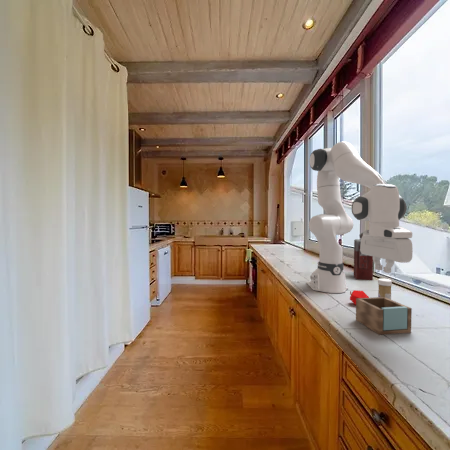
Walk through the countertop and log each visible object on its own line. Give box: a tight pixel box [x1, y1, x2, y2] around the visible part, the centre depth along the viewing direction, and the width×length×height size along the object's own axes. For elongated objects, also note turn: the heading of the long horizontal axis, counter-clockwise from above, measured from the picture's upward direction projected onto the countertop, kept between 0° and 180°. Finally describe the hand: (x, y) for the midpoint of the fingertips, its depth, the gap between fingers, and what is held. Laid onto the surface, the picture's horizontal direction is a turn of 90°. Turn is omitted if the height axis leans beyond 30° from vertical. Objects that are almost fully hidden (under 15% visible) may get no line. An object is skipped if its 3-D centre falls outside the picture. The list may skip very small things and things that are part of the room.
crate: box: [355, 296, 413, 335], centre depth 90 cm, size 12×11×8 cm
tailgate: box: [381, 305, 408, 330], centre depth 85 cm, size 1×8×7 cm, turn 98°
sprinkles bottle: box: [377, 278, 393, 300], centre depth 101 cm, size 5×5×13 cm
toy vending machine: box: [353, 231, 374, 281], centre depth 158 cm, size 9×11×28 cm
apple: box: [349, 289, 370, 306], centre depth 112 cm, size 7×7×8 cm
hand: (382, 271), depth 90 cm, fingers open, 3 cm apart
